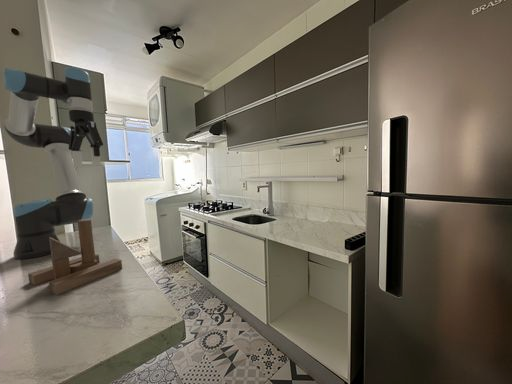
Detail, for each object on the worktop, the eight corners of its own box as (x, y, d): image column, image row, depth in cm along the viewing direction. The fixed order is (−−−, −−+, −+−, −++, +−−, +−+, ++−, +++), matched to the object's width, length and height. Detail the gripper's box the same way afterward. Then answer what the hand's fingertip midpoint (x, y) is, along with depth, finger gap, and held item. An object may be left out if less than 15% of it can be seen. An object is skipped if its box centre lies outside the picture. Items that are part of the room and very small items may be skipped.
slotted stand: (29, 282, 67) (28, 273, 67) (93, 260, 83) (92, 253, 83) (56, 295, 59) (55, 284, 59) (122, 268, 75) (121, 259, 75)
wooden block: (54, 280, 68) (47, 224, 67) (95, 268, 76) (89, 218, 75) (56, 284, 66) (49, 226, 64) (98, 271, 74) (92, 219, 72)
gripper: (54, 114, 87) (60, 167, 89) (87, 103, 76) (94, 164, 77) (76, 118, 94) (81, 167, 95) (110, 108, 82) (115, 164, 84)
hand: (87, 166), depth 86 cm, fingers open, 13 cm apart
